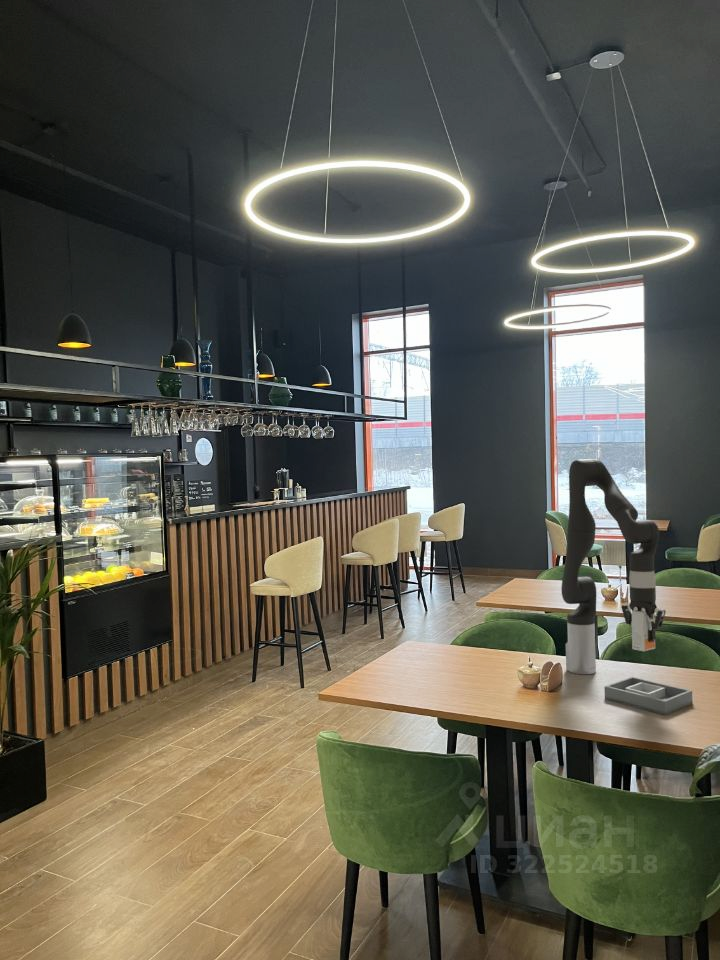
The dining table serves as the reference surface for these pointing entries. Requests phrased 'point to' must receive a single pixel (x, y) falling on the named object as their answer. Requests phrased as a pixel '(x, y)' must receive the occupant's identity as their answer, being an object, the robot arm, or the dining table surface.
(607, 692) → the walled box
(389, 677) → the dining table surface
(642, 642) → the skincare box
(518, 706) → the dining table surface
